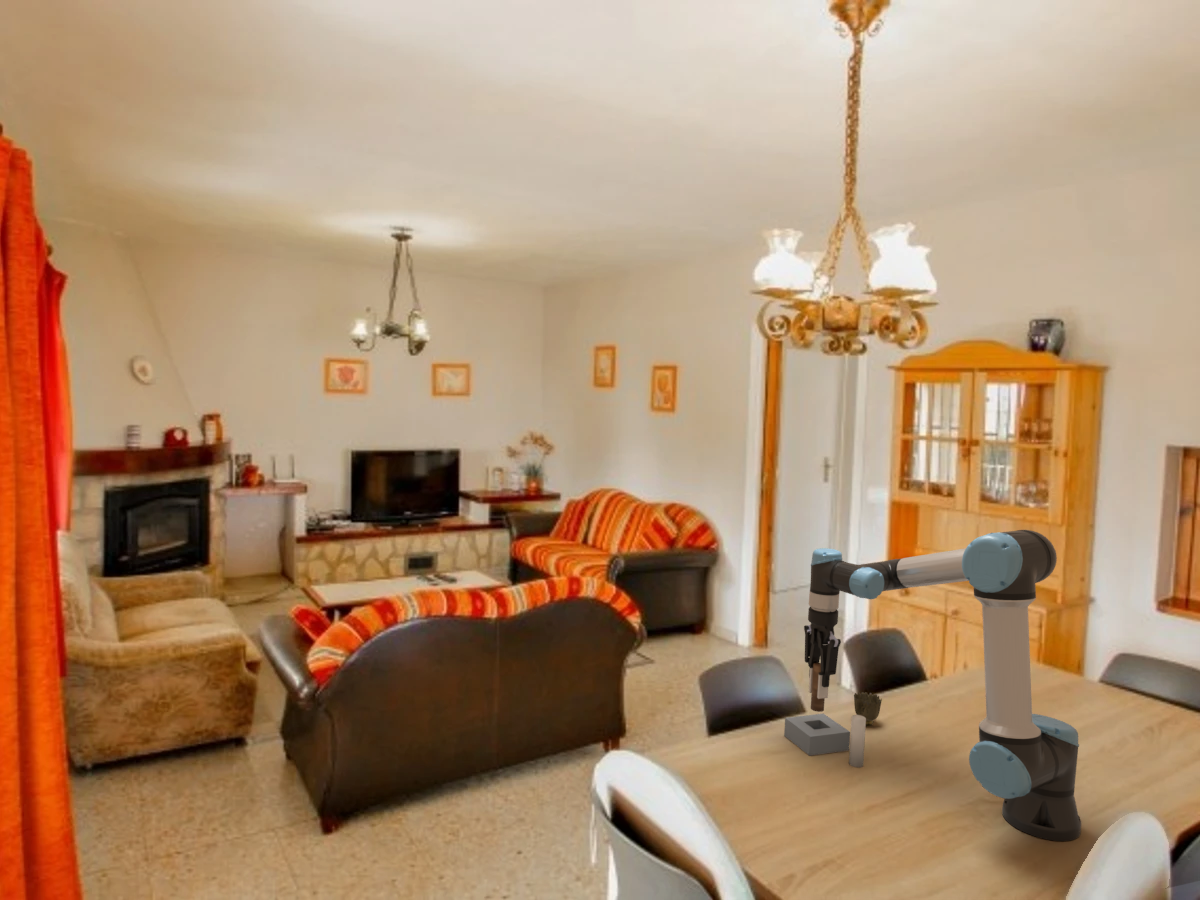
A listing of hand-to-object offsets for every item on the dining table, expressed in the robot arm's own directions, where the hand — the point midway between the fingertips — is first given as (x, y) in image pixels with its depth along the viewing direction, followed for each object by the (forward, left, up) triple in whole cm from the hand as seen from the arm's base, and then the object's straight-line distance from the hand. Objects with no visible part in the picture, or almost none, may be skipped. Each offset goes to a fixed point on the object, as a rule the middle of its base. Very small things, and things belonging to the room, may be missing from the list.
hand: (818, 694), depth 210 cm
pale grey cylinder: (-13, -3, -13) cm, 19 cm away
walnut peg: (0, 0, -4) cm, 4 cm away
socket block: (0, 0, -13) cm, 13 cm away
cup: (+7, -21, -13) cm, 26 cm away
